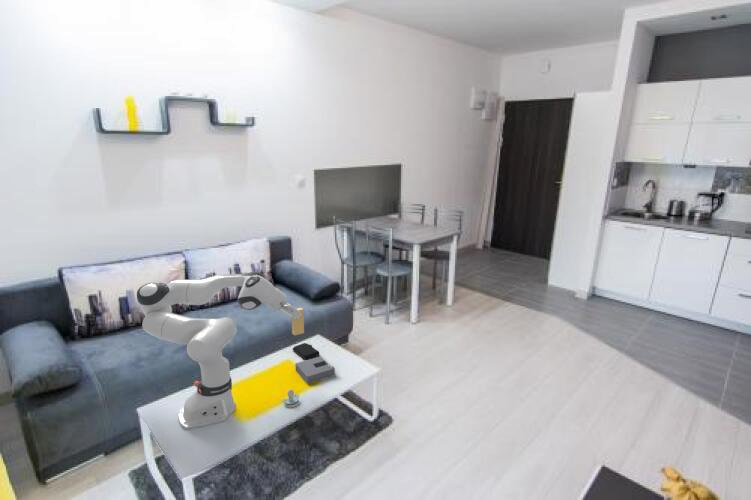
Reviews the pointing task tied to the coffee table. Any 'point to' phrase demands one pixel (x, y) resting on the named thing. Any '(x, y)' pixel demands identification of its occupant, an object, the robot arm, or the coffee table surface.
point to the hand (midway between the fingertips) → (296, 316)
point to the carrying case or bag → (306, 351)
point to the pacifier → (291, 399)
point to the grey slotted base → (315, 369)
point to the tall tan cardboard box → (298, 323)
